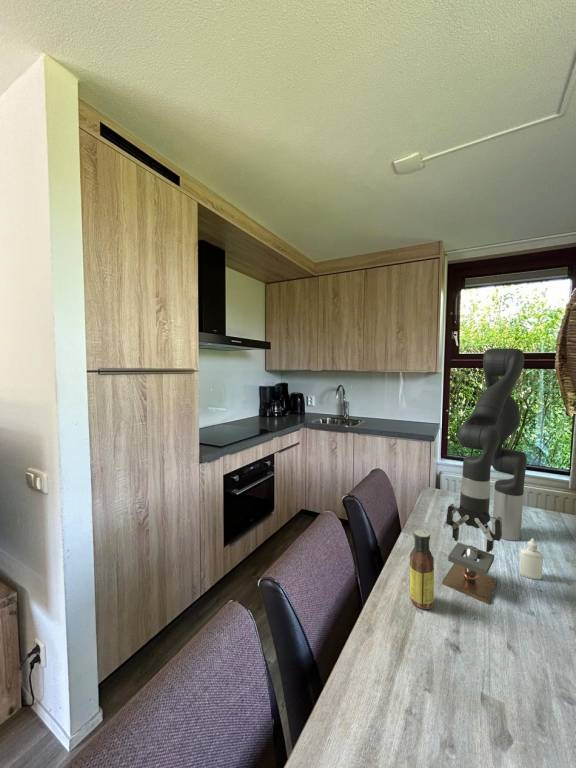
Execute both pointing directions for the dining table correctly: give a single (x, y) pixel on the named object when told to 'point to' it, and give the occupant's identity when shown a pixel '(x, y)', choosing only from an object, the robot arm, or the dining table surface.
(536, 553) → the eye dropper bottle
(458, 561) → the collar
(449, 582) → the bronze plate with post
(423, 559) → the sauce bottle
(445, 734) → the dining table surface
